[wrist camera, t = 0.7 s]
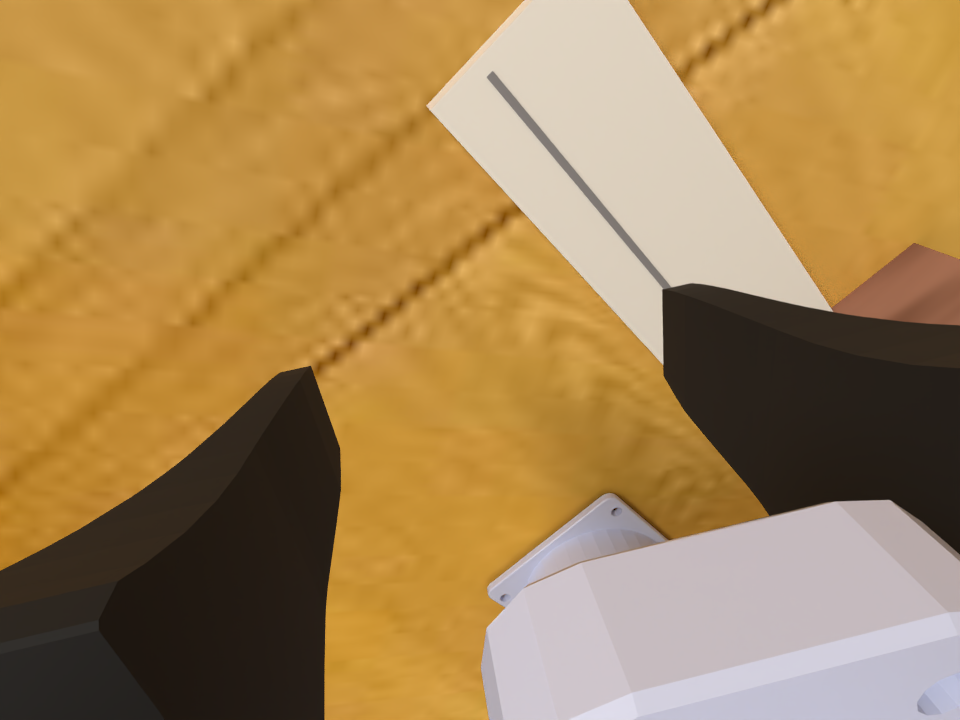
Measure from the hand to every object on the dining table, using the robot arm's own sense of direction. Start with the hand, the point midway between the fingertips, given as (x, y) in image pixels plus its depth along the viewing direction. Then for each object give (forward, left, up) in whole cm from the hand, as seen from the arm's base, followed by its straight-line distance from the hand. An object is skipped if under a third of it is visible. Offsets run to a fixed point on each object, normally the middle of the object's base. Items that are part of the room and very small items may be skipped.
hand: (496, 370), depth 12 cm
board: (-8, -6, -10) cm, 13 cm away
